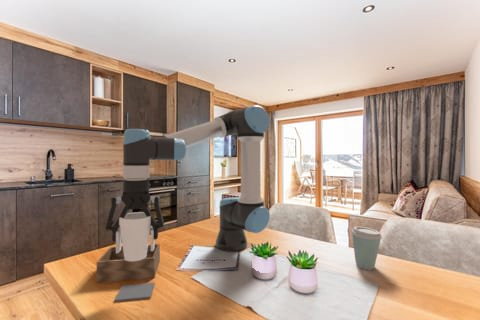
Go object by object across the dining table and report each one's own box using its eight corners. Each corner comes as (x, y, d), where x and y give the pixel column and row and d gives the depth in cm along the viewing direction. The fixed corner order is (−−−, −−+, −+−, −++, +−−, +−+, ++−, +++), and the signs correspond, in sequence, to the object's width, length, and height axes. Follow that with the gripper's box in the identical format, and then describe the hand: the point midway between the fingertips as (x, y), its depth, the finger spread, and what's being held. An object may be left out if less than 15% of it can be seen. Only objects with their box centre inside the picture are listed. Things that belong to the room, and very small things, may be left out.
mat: (154, 284, 80) (154, 282, 80) (150, 298, 72) (150, 296, 72) (122, 287, 78) (122, 285, 78) (114, 302, 70) (114, 299, 70)
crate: (159, 260, 97) (159, 244, 97) (154, 277, 84) (154, 258, 84) (110, 264, 93) (110, 246, 93) (96, 282, 80) (96, 262, 80)
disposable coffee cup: (366, 259, 101) (367, 224, 101) (388, 271, 90) (389, 232, 90) (345, 261, 98) (345, 225, 98) (364, 274, 88) (365, 234, 88)
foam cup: (139, 265, 69) (140, 220, 69) (111, 262, 71) (112, 218, 70) (157, 252, 78) (157, 213, 78) (132, 249, 80) (132, 211, 80)
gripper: (173, 177, 80) (173, 244, 80) (102, 178, 76) (101, 248, 76) (171, 180, 73) (171, 252, 73) (92, 180, 68) (92, 257, 69)
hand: (135, 250), depth 74 cm, fingers closed on foam cup, 9 cm apart
